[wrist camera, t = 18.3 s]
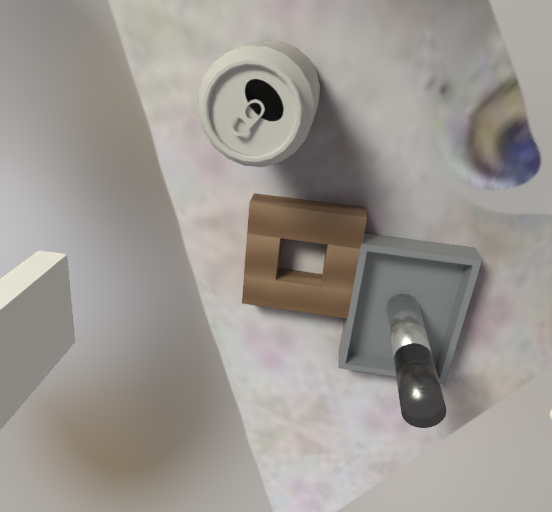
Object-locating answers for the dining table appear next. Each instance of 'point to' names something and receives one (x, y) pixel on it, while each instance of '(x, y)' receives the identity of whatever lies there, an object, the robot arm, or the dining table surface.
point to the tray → (416, 282)
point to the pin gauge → (414, 364)
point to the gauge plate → (310, 228)
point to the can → (259, 102)
